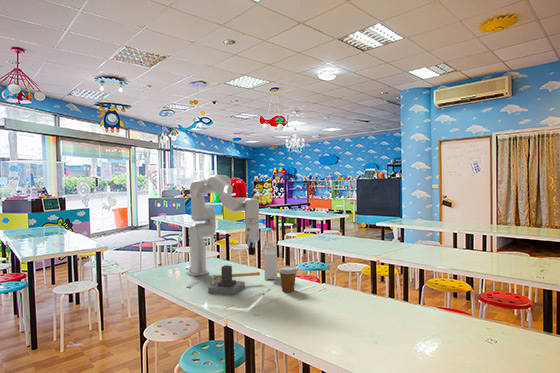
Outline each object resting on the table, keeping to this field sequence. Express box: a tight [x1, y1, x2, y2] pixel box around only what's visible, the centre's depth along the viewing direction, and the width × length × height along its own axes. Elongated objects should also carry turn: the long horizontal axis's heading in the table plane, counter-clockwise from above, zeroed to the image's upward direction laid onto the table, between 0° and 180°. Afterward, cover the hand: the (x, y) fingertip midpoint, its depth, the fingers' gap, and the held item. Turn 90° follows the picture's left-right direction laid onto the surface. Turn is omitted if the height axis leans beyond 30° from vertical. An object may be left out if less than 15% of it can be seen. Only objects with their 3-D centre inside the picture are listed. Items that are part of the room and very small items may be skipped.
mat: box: [186, 278, 206, 289], centre depth 182 cm, size 14×14×1 cm
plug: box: [218, 264, 237, 287], centre depth 169 cm, size 7×7×12 cm
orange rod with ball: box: [211, 271, 261, 280], centre depth 177 cm, size 26×3×2 cm, turn 103°
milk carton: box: [263, 245, 278, 281], centre depth 193 cm, size 7×7×19 cm
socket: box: [207, 278, 246, 296], centre depth 169 cm, size 17×14×6 cm
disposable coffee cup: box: [278, 265, 298, 293], centre depth 170 cm, size 10×10×12 cm
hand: (251, 254), depth 176 cm, fingers closed
